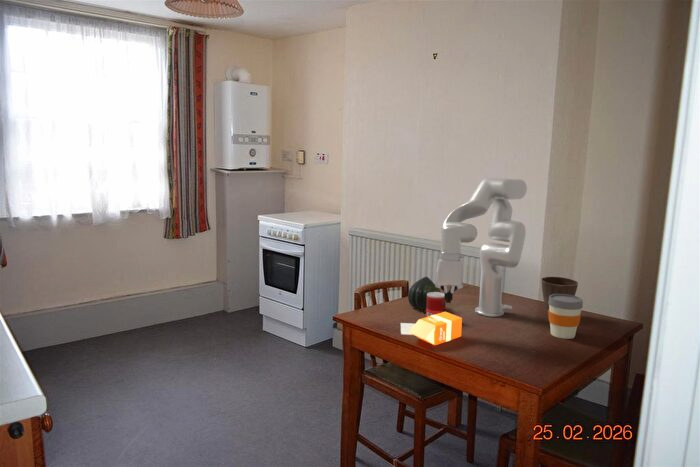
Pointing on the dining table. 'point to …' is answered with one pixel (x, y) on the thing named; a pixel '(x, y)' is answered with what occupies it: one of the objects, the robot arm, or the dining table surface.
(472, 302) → the dining table surface
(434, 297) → the canned food
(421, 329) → the orange juice
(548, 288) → the plant pot
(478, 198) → the robot arm
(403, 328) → the mat
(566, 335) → the reusable coffee cup
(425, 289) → the squash
